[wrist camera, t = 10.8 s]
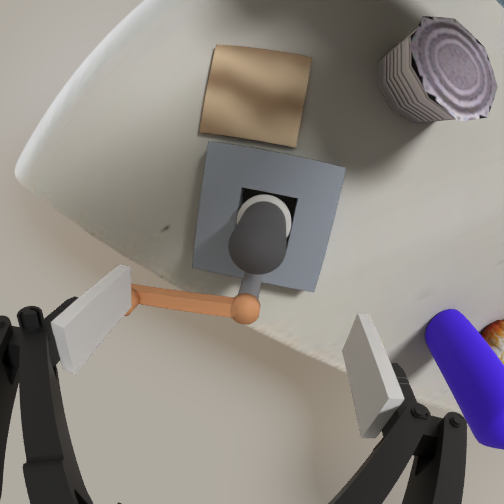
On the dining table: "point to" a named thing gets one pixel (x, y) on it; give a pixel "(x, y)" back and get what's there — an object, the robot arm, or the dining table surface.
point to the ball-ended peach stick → (197, 303)
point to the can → (438, 74)
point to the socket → (273, 181)
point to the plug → (260, 234)
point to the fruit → (495, 338)
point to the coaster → (256, 94)
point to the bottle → (470, 374)
